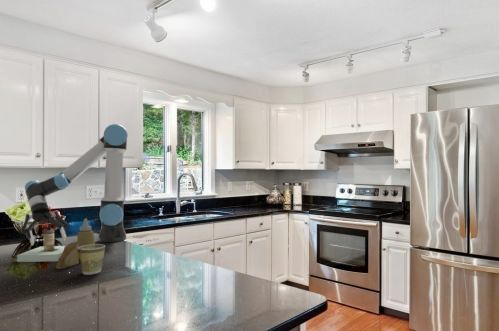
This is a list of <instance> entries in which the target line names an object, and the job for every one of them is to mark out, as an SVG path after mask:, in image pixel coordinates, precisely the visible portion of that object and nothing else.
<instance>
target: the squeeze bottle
mask: <svg viewBox="0 0 499 331" xmlns="http://www.w3.org/2000/svg"><path fill="white" fill-rule="evenodd" d="M76 242H78V244H79V247H80V246H84V245H91V244H96V242H95V233H94V231H93V230H92V225H89V221H88V218H87V217H86V218H83V222H82V226H80V227H79V231H78V232H77V240H76ZM78 257H79V255H78Z"/></svg>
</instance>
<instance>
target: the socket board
mask: <svg viewBox="0 0 499 331" xmlns="http://www.w3.org/2000/svg"><path fill="white" fill-rule="evenodd" d="M65 246H66V245H54V251H53V252H44V245H43V246H38V247H36V248H33V249H30V250H28V251H25V252H22V253H20V254H17V255H16V256H17V259H16V261H17V263H30V262H31V263H35V262H37V263H39V262H58V260H59V258H60V257H61V255H62V253H63V251H64V247H65Z"/></svg>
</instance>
